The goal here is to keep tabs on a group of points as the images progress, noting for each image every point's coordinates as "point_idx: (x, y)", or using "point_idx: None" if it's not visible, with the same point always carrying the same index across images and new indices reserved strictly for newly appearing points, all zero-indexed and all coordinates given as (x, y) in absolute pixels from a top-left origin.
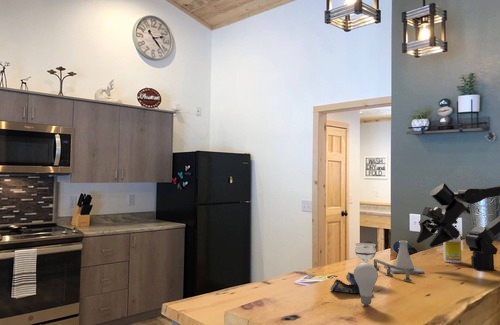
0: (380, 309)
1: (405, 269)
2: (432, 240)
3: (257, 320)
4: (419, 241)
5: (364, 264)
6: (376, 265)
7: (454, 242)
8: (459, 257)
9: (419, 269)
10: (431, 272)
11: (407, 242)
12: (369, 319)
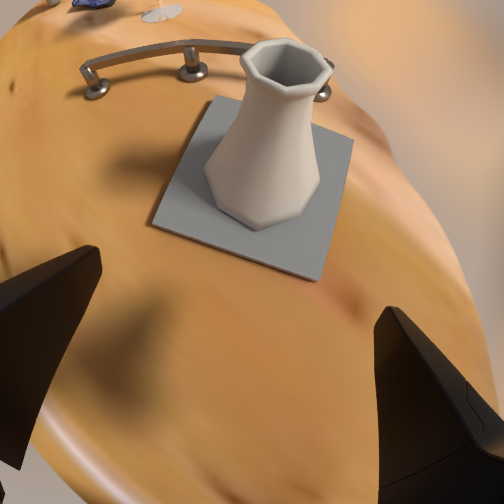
0: (37, 16)
1: (91, 60)
2: (52, 273)
3: None
4: (380, 340)
5: None
6: None
7: None
8: None
9: (205, 235)
10: (172, 292)
11: (250, 79)
12: (32, 8)
